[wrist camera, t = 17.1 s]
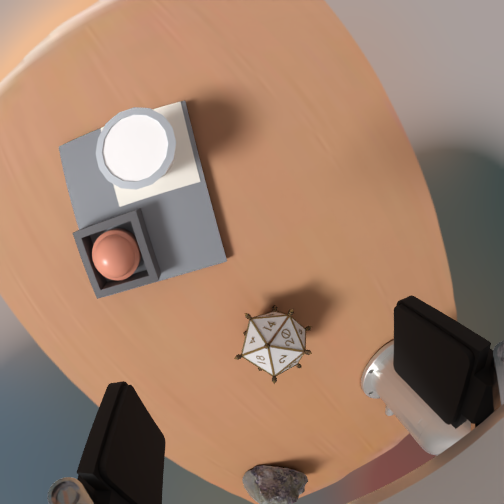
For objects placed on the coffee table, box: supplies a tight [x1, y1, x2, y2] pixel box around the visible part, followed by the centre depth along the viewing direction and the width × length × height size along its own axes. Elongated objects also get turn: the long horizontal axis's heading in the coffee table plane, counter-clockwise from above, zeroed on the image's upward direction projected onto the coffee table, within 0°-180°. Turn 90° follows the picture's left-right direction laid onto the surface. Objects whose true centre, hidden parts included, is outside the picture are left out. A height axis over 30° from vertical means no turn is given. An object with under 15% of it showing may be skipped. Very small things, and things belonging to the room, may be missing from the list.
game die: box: [234, 306, 312, 384], centre depth 32 cm, size 9×8×10 cm
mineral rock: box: [243, 465, 308, 504], centre depth 41 cm, size 13×11×10 cm
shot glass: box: [96, 108, 176, 190], centre depth 24 cm, size 7×7×7 cm
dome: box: [92, 228, 142, 280], centre depth 27 cm, size 5×5×4 cm
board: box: [59, 101, 227, 299], centre depth 27 cm, size 18×15×4 cm
